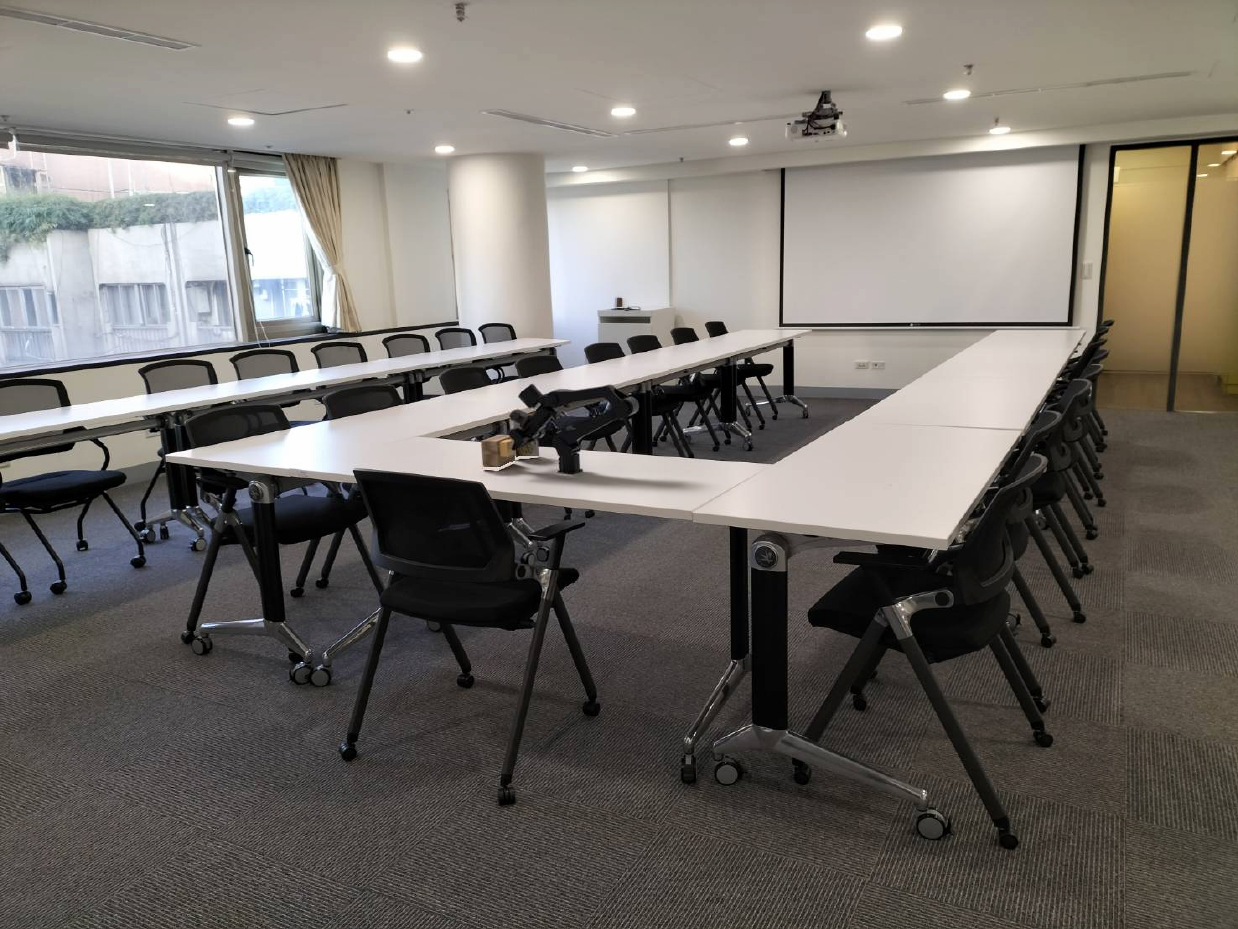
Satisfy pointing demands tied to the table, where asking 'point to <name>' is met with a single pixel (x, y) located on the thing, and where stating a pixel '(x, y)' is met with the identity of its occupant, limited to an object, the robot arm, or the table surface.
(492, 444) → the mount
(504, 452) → the knob
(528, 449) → the coffee box
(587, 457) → the table surface
